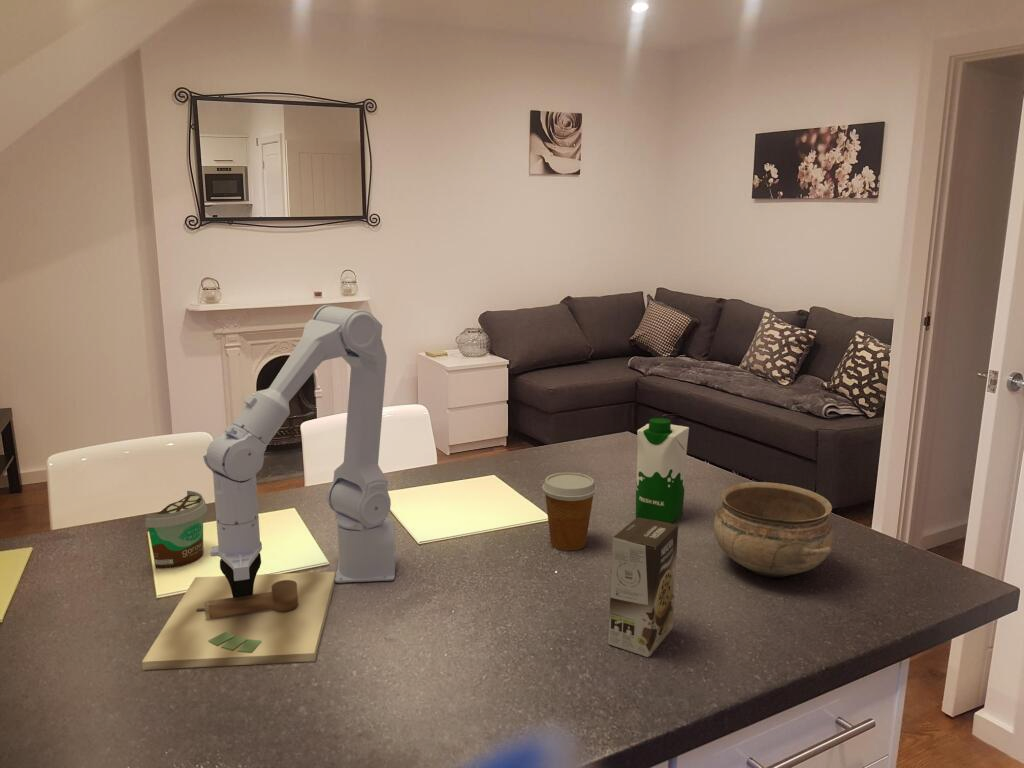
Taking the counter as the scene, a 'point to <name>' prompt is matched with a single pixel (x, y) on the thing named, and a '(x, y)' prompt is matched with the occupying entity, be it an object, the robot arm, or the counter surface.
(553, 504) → the disposable coffee cup
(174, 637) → the dial board
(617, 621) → the coffee box
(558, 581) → the counter surface
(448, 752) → the counter surface
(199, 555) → the food container
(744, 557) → the cooking pot
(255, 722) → the counter surface
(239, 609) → the tuning peg
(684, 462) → the milk carton
